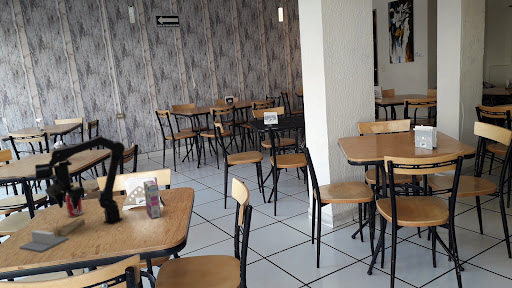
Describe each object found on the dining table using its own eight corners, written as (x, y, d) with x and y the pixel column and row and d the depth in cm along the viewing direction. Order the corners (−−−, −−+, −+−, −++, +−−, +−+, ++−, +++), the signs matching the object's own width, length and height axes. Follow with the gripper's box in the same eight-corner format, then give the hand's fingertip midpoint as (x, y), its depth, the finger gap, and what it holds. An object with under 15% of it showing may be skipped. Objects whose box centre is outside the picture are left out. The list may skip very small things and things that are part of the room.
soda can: (86, 212, 206) (82, 191, 204) (76, 217, 200) (72, 195, 197) (75, 212, 208) (71, 190, 206) (65, 217, 202) (61, 195, 200)
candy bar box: (161, 217, 191) (158, 184, 188) (151, 219, 189) (147, 186, 186) (156, 210, 201) (152, 179, 198) (146, 212, 198) (142, 181, 196)
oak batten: (85, 225, 189) (84, 218, 189) (64, 237, 176) (62, 230, 175) (79, 224, 190) (78, 218, 190) (57, 236, 177) (56, 229, 176)
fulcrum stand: (68, 239, 172) (66, 227, 171) (42, 252, 161) (39, 240, 160) (47, 236, 178) (44, 224, 177) (19, 248, 166) (17, 236, 165)
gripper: (32, 180, 175) (39, 213, 178) (61, 181, 167) (67, 216, 170) (54, 173, 185) (60, 204, 188) (82, 174, 177) (88, 207, 180)
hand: (68, 208), depth 181 cm, fingers open, 9 cm apart
